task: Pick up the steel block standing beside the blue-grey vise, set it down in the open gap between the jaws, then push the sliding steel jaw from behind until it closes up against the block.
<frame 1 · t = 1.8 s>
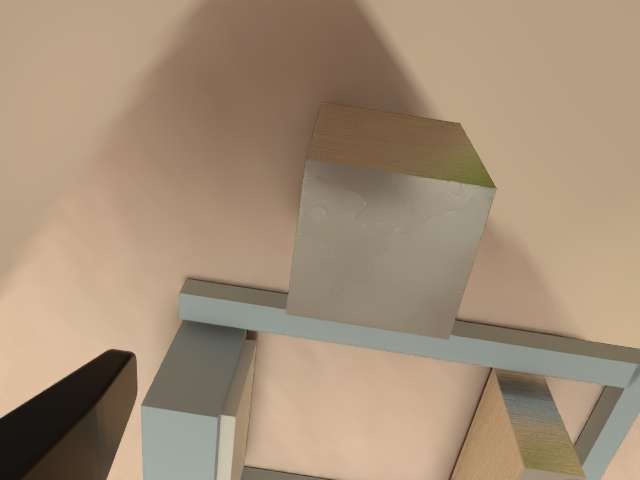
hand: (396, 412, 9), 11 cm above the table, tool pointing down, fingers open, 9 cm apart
block: (378, 177, 18), on the table
vise: (376, 417, 24), on the table
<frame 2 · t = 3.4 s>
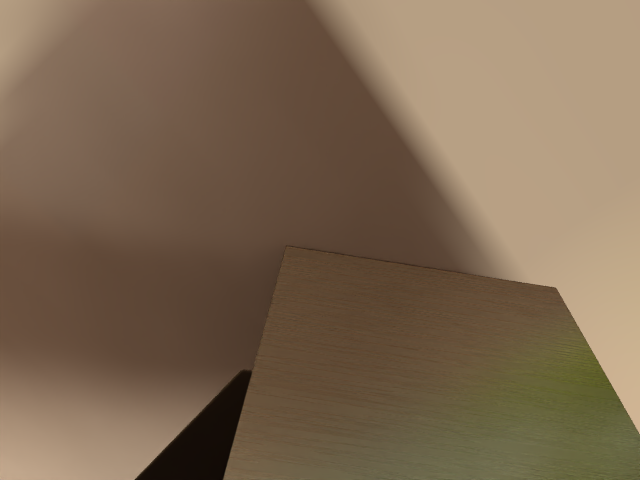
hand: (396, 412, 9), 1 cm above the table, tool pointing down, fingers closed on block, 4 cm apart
block: (393, 370, 10), on the table, touching gripper
when the fingers open (3 cm above the table, at t = 7.1 s): block drops 2 cm, resting in vise.
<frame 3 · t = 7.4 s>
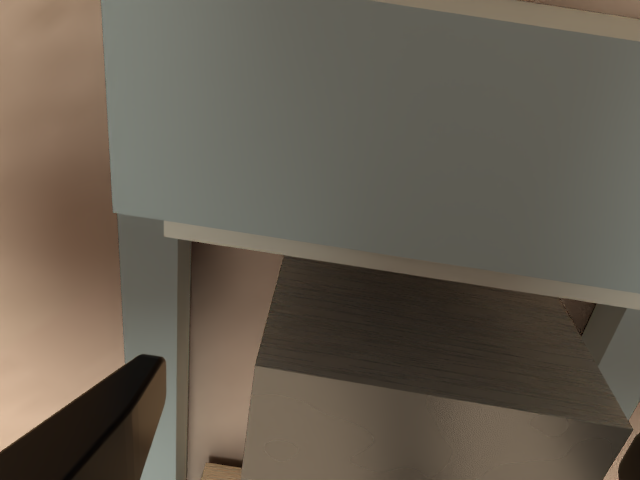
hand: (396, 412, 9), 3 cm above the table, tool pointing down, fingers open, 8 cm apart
block: (386, 293, 12), resting in vise
vise: (371, 369, 13), on the table
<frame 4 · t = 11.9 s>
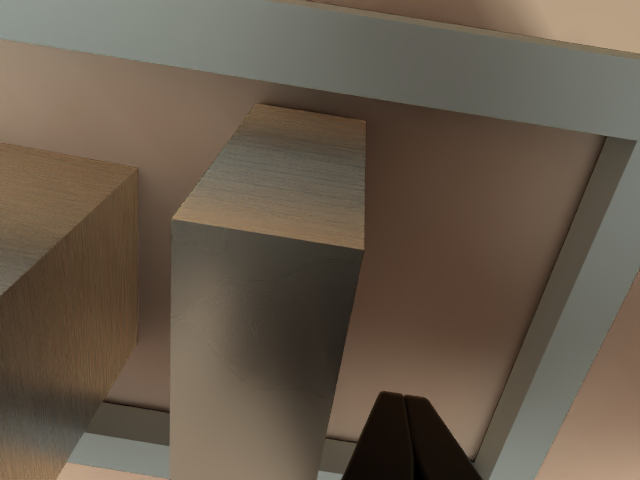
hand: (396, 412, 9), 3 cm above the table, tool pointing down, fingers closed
block: (38, 243, 12), resting in vise
vise: (135, 260, 12), on the table
jaw: (269, 365, 9), point 3 cm above the table, slide at 1.6 cm, touching gripper
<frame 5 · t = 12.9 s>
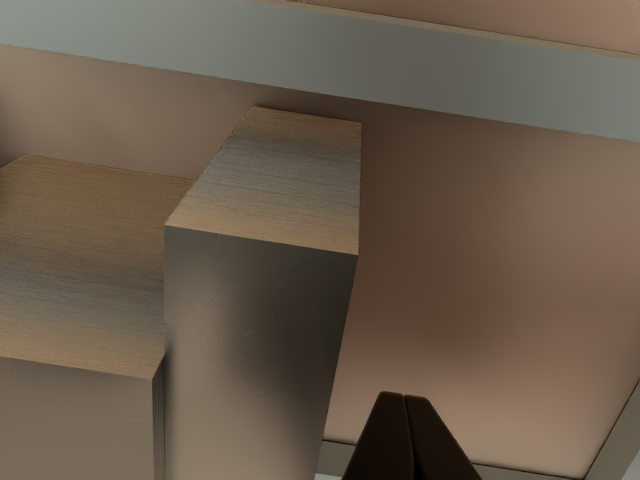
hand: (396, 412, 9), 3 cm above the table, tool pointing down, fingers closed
block: (139, 265, 12), resting in vise
vise: (261, 283, 12), on the table
jaw: (266, 369, 9), point 3 cm above the table, slide at 4.5 cm, touching gripper
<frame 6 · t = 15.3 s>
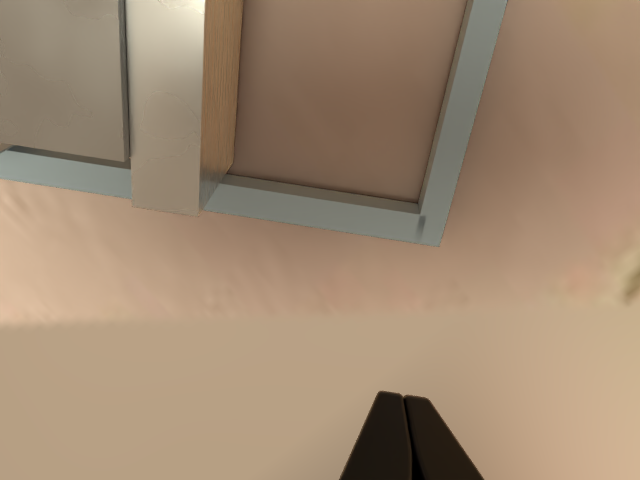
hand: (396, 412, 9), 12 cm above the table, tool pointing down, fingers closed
block: (120, 37, 19), resting in vise
vise: (196, 47, 19), on the table
jaw: (190, 63, 16), point 3 cm above the table, slide at 4.4 cm
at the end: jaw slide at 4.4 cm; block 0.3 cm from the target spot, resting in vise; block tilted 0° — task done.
